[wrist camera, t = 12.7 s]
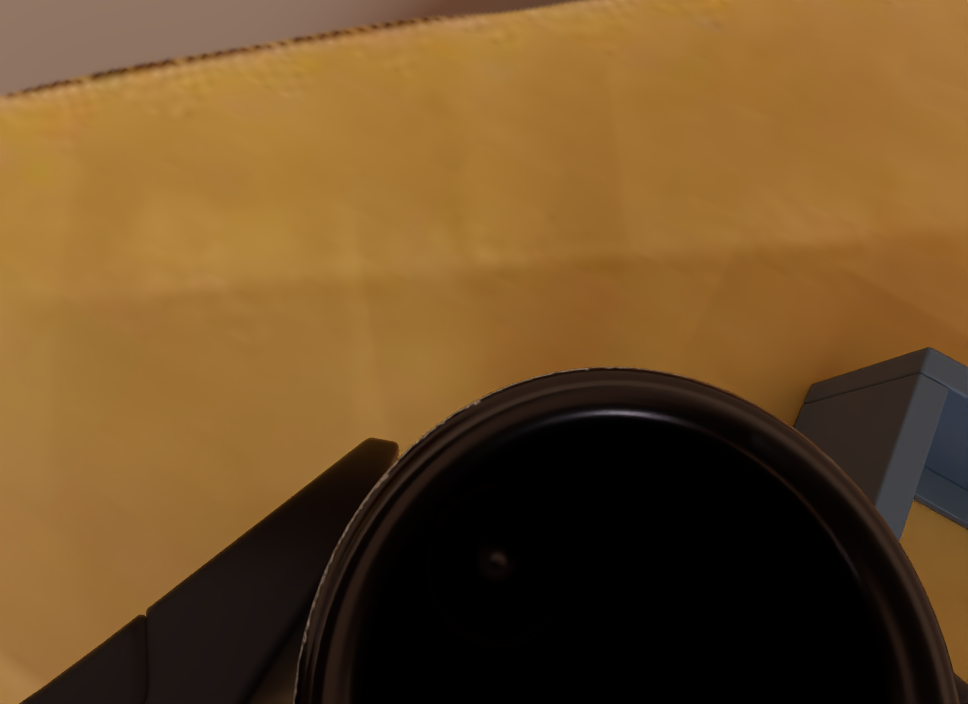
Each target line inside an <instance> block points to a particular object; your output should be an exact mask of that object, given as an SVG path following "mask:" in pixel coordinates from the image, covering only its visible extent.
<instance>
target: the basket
mask: <svg viewBox="0 0 968 704" xmlns="http://www.w3.org/2000/svg"><path fill="white" fill-rule="evenodd" d="M794 429H796V430H797V431H798V432H800V433H801V434H802V435H804V436H805V437H806V438H807V439H809V440H810V441H811V442H813V443H814V444H815V445H816V446H817V447H818V448H819V449H821V450H822V451H823V452H824V453H825V454H826V455H827V456H829V457H830V458H831V459H832V460H833V461H834V462H835V463H836V464H837V465H838V466H839V467H840V468H841V469H842V470H843V471H844V472H845V473H846V474H847V475H848V476H849V477H850V478H851V479H852V480H853V482H854V483H855V484H856V485H857V486H858V487H859V488H860V490H861V491H862V492H863V493H864V494H865V495H866V496H867V498H868V499H869V500H870V502H871V503H872V504H873V505H874V507H875V508H876V509H877V511H878V512H879V513H880V515H881V516H882V517H883V519H884V520H885V521H886V523H887V524H888V526H889V527H890V529H891V530H892V532H893V533H894V535H895V536H896V538H897V539H898V541H900V538H901V535H902V532H903V529H904V526H905V523H906V520H907V517H908V514H909V510H910V507H911V504H912V501H913V499H915V500H916V501H918V502H920V503H922V504H924V505H925V506H927V507H929V508H931V509H933V510H934V511H936V512H938V513H940V514H941V515H943V516H945V517H947V518H949V519H950V520H952V521H954V522H956V523H957V524H959V525H961V526H963V527H965V528H966V529H968V367H967V366H965V365H963V364H961V363H959V362H957V361H955V360H954V359H952V358H950V357H948V356H946V355H944V354H942V353H941V352H939V351H937V350H935V349H933V348H930V347H927V348H924V349H921V350H917V351H914V352H911V353H908V354H905V355H902V356H899V357H896V358H893V359H889V360H886V361H883V362H880V363H877V364H874V365H871V366H868V367H864V368H861V369H858V370H855V371H852V372H849V373H846V374H843V375H839V376H836V377H833V378H830V379H827V380H824V381H821V382H818V383H815V384H812V385H811V387H810V390H809V392H808V395H807V397H806V400H805V405H803V406H802V409H801V411H800V414H799V416H798V418H797V421H796V423H795V426H794Z"/></svg>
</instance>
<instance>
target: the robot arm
mask: <svg viewBox="0 0 968 704" xmlns="http://www.w3.org/2000/svg"><path fill="white" fill-rule="evenodd" d="M398 453H399V446H398V444H397V443H396V442H393V441H388V440H382V439H377V438H368V439H366V440H365V441H363V442H362V443H361V444H359V445H358V446H357V447H356V448H354V449H353V450H352V451H350V452H349V453H348V454H347V455H345V456H344V457H343V458H341V459H340V460H339V461H338V462H336V463H335V464H334V465H332V466H331V467H330V468H329V469H327V470H326V471H325V472H323V473H322V474H321V475H319V476H318V477H317V478H316V479H314V480H313V481H312V482H310V483H309V484H308V485H307V486H305V487H304V488H303V489H301V490H300V491H299V492H298V493H296V494H295V495H294V496H292V497H291V498H290V499H288V500H287V501H286V502H285V503H283V504H282V505H281V506H279V507H278V508H277V509H276V510H274V511H273V512H272V513H270V514H269V515H268V516H267V517H265V518H264V519H263V520H261V521H260V522H259V523H257V524H256V525H255V526H254V527H252V528H251V529H250V530H248V531H247V532H246V533H245V534H243V535H242V536H241V537H239V538H238V539H237V540H236V541H234V542H233V543H232V544H230V545H229V546H228V547H226V548H225V549H224V550H223V551H221V552H220V553H219V554H217V555H216V556H215V557H214V558H212V559H211V560H210V561H208V562H207V563H206V564H205V565H203V566H202V567H201V568H199V569H198V570H197V571H195V572H194V573H193V574H192V575H190V576H189V577H188V578H186V579H185V580H184V581H183V582H181V583H180V584H179V585H177V586H176V587H175V588H174V589H172V590H171V591H170V592H168V593H167V594H166V595H164V596H163V597H162V598H161V599H159V600H158V601H157V602H155V603H154V604H153V605H152V606H150V607H149V608H148V609H147V611H146V616H145V615H138V616H137V617H136V618H134V619H133V620H132V621H130V622H129V623H128V624H127V625H125V626H124V627H123V628H121V629H120V630H119V631H117V632H116V633H115V634H114V635H112V636H111V637H110V638H108V639H107V640H106V641H105V642H103V643H102V644H101V645H99V646H98V647H97V648H95V649H94V650H92V651H91V652H90V653H88V654H87V655H86V656H84V657H83V658H82V659H80V660H79V661H78V662H76V663H75V664H74V665H72V666H71V667H70V668H68V669H67V670H65V671H64V672H63V673H61V674H60V675H59V676H57V677H56V678H55V679H53V680H52V681H51V682H49V683H48V684H47V685H45V686H44V687H43V688H41V689H40V690H38V691H37V692H35V693H34V694H32V695H31V696H30V697H28V698H27V699H25V700H24V701H22V702H21V703H19V704H293V697H294V687H295V680H296V673H297V666H298V659H299V655H300V650H301V645H302V641H303V636H304V631H305V628H306V624H307V621H308V617H309V614H310V610H311V607H312V603H313V601H314V598H315V595H316V592H317V590H318V587H319V584H320V581H321V579H322V576H323V574H324V571H325V569H326V567H327V565H328V563H329V560H330V558H331V556H332V554H333V551H334V549H335V548H336V546H337V544H338V542H339V540H340V538H341V536H342V535H343V533H344V531H345V529H346V527H347V525H348V524H349V522H350V521H351V519H352V518H353V516H354V514H355V513H356V511H357V510H358V508H359V507H360V505H361V503H362V502H363V501H364V499H365V498H366V497H367V495H368V494H369V493H370V491H371V490H372V489H373V487H374V486H375V485H376V483H377V482H378V481H379V480H380V479H381V477H382V476H383V475H384V474H385V473H386V472H387V470H388V469H389V468H390V467H391V466H392V465H393V464H394V462H395V461H397V460H398ZM954 676H955V681H956V685H957V690H958V694H959V699H960V704H968V684H966V683H965V682H964V681H963V680H962V679H961V678H960V677H958V676H957V675H956V674H955V673H954Z"/></svg>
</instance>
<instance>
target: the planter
mask: <svg viewBox="0 0 968 704" xmlns="http://www.w3.org/2000/svg"><path fill="white" fill-rule="evenodd" d="M293 704H960V699H959V694H958V690H957V685H956V681H955V676H954V672H953V668H952V664H951V661H950V657H949V654H948V651H947V647H946V644H945V640H944V638H943V635H942V632H941V629H940V626H939V623H938V621H937V618H936V615H935V613H934V610H933V608H932V606H931V603H930V601H929V598H928V596H927V594H926V591H925V589H924V587H923V585H922V583H921V581H920V579H919V577H918V575H917V573H916V571H915V569H914V567H913V565H912V563H911V562H910V560H909V558H908V556H907V555H906V553H905V551H904V550H903V548H902V546H901V544H900V543H899V541H898V539H897V538H896V536H895V535H894V533H893V532H892V530H891V529H890V527H889V526H888V524H887V523H886V521H885V520H884V519H883V517H882V516H881V515H880V513H879V512H878V511H877V509H876V508H875V507H874V505H873V504H872V503H871V502H870V500H869V499H868V498H867V496H866V495H865V494H864V493H863V492H862V491H861V490H860V488H859V487H858V486H857V485H856V484H855V483H854V482H853V480H852V479H851V478H850V477H849V476H848V475H847V474H846V473H845V472H844V471H843V470H842V469H841V468H840V467H839V466H838V465H837V464H836V463H835V462H834V461H833V460H832V459H831V458H830V457H829V456H827V455H826V454H825V453H824V452H823V451H822V450H821V449H819V448H818V447H817V446H816V445H815V444H814V443H813V442H811V441H810V440H809V439H807V438H806V437H805V436H804V435H802V434H801V433H800V432H798V431H797V430H796V429H794V428H793V427H792V426H790V425H789V424H787V423H786V422H784V421H783V420H781V419H780V418H778V417H777V416H775V415H773V414H772V413H770V412H768V411H766V410H765V409H763V408H761V407H760V406H758V405H756V404H754V403H752V402H750V401H748V400H746V399H744V398H742V397H740V396H738V395H736V394H734V393H731V392H729V391H726V390H724V389H721V388H719V387H716V386H714V385H711V384H708V383H705V382H702V381H699V380H695V379H692V378H689V377H685V376H681V375H677V374H672V373H668V372H663V371H657V370H650V369H644V368H631V367H589V368H577V369H570V370H564V371H557V372H552V373H548V374H544V375H540V376H536V377H532V378H529V379H526V380H523V381H520V382H516V383H513V384H511V385H508V386H506V387H503V388H501V389H498V390H496V391H494V392H491V393H489V394H487V395H485V396H483V397H481V398H479V399H477V400H475V401H473V402H471V403H470V404H468V405H466V406H465V407H463V408H461V409H460V410H458V411H456V412H455V413H453V414H452V415H450V416H449V417H447V418H446V419H444V420H443V421H442V422H440V423H439V424H437V425H436V426H435V427H433V428H432V429H431V430H429V431H428V432H427V433H426V434H425V435H423V436H422V437H421V438H420V439H419V440H418V441H416V442H415V443H414V444H413V445H412V446H411V447H410V448H409V449H408V450H407V451H406V452H405V453H404V454H403V455H402V456H401V457H400V458H399V459H398V460H397V461H395V462H394V464H393V465H392V466H391V467H390V468H389V469H388V470H387V472H386V473H385V474H384V475H383V476H382V477H381V479H380V480H379V481H378V482H377V483H376V485H375V486H374V487H373V489H372V490H371V491H370V493H369V494H368V495H367V497H366V498H365V499H364V501H363V502H362V503H361V505H360V507H359V508H358V510H357V511H356V513H355V514H354V516H353V518H352V519H351V521H350V522H349V524H348V525H347V527H346V529H345V531H344V533H343V535H342V536H341V538H340V540H339V542H338V544H337V546H336V548H335V549H334V551H333V554H332V556H331V558H330V560H329V563H328V565H327V567H326V569H325V571H324V574H323V576H322V579H321V581H320V584H319V587H318V590H317V592H316V595H315V598H314V601H313V603H312V607H311V610H310V614H309V617H308V621H307V624H306V628H305V631H304V636H303V641H302V645H301V650H300V655H299V659H298V666H297V673H296V680H295V687H294V697H293Z"/></svg>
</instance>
